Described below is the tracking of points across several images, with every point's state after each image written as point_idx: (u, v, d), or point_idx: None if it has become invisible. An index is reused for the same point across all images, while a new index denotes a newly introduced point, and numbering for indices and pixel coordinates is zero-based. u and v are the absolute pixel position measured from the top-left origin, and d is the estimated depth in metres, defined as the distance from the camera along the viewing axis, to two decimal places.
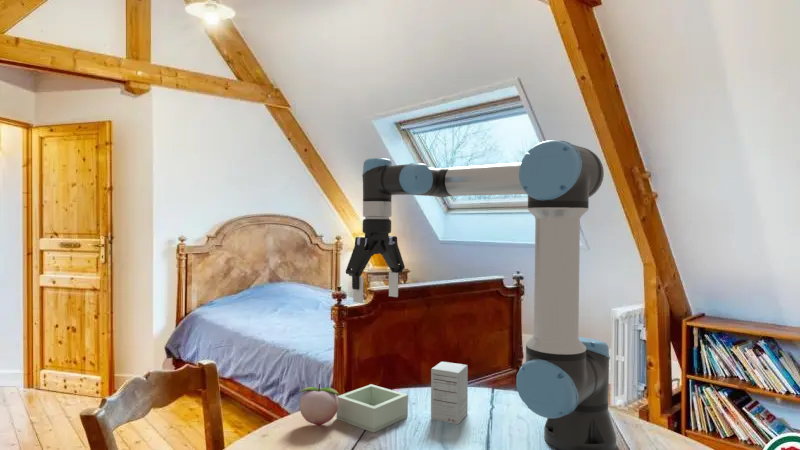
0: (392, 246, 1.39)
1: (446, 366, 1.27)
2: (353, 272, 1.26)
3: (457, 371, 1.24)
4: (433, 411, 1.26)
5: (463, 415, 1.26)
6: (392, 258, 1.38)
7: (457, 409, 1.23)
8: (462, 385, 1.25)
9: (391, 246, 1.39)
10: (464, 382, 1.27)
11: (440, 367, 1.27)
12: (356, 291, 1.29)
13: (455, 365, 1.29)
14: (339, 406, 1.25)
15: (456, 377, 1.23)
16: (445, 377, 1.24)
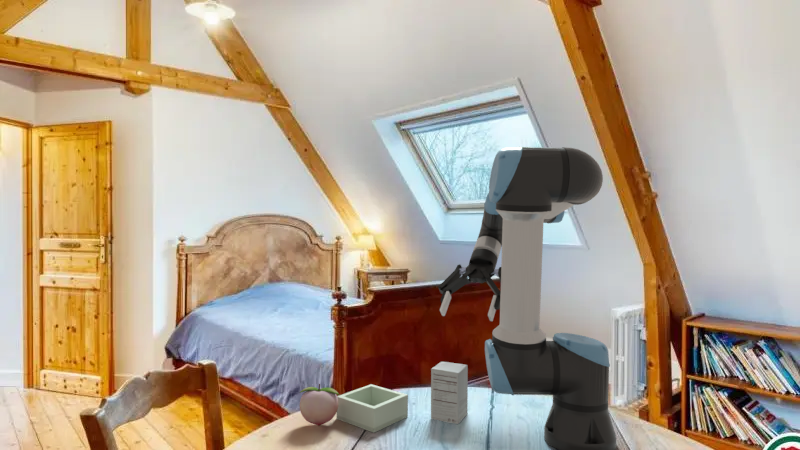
0: (499, 276, 1.42)
1: (446, 366, 1.27)
2: (439, 286, 1.45)
3: (457, 371, 1.24)
4: (433, 411, 1.26)
5: (463, 415, 1.26)
6: (491, 283, 1.40)
7: (457, 409, 1.23)
8: (462, 385, 1.25)
9: (499, 277, 1.42)
10: (464, 382, 1.27)
11: (440, 367, 1.27)
12: None
13: (455, 365, 1.29)
14: (339, 406, 1.25)
15: (456, 377, 1.23)
16: (445, 377, 1.24)
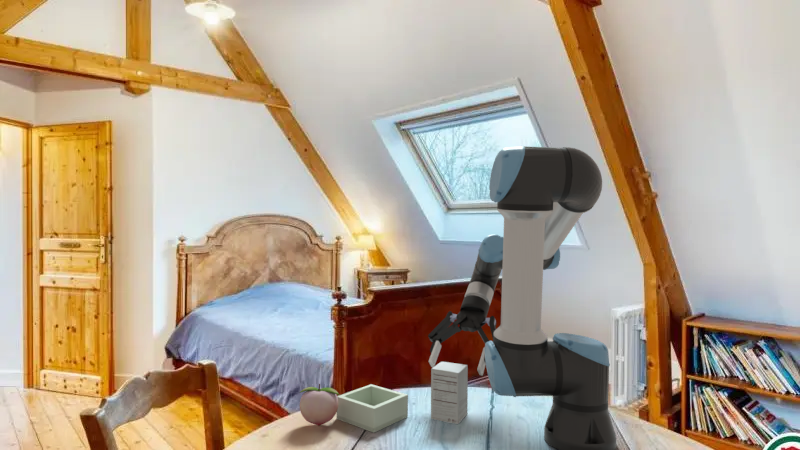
0: (490, 326, 1.38)
1: (446, 366, 1.27)
2: (429, 335, 1.41)
3: (457, 371, 1.24)
4: (433, 411, 1.26)
5: (463, 415, 1.26)
6: (482, 333, 1.36)
7: (457, 409, 1.23)
8: (462, 385, 1.25)
9: None
10: (464, 382, 1.27)
11: (440, 367, 1.27)
12: None
13: (455, 365, 1.29)
14: (339, 406, 1.25)
15: (456, 377, 1.23)
16: (445, 377, 1.24)
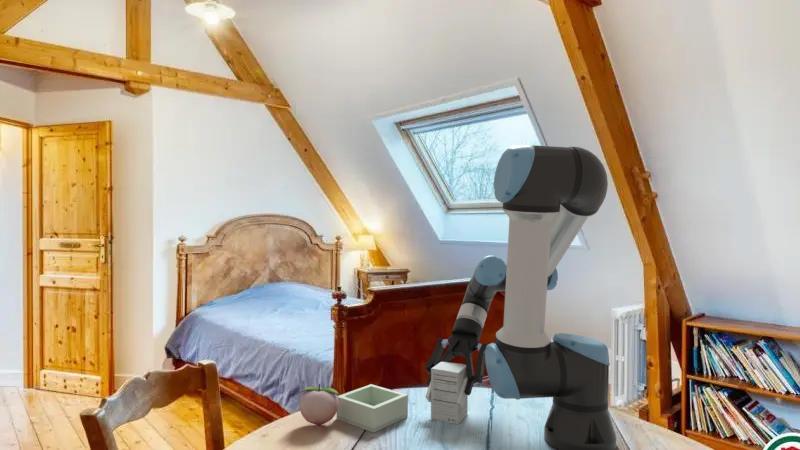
0: None
1: (446, 366, 1.27)
2: (426, 367, 1.32)
3: (457, 371, 1.24)
4: (433, 411, 1.26)
5: (463, 415, 1.26)
6: (468, 361, 1.29)
7: (457, 409, 1.23)
8: None
9: None
10: None
11: (440, 367, 1.27)
12: None
13: (455, 365, 1.29)
14: (339, 406, 1.25)
15: (456, 377, 1.23)
16: (445, 377, 1.24)
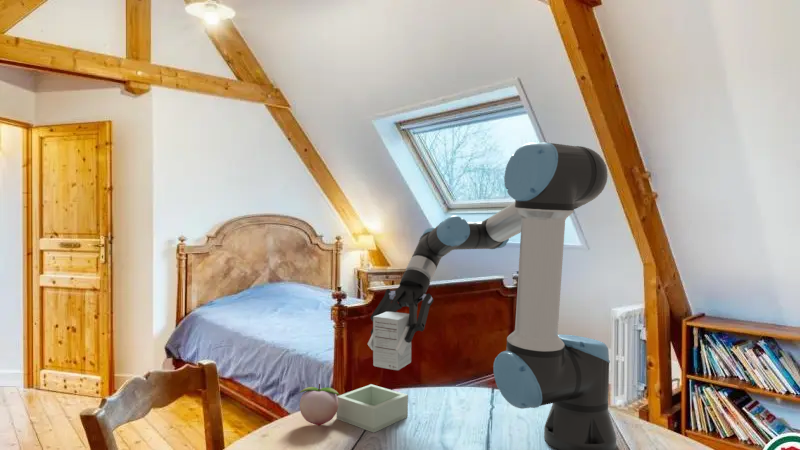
0: None
1: (389, 314, 1.29)
2: (371, 317, 1.34)
3: (397, 318, 1.25)
4: (375, 358, 1.27)
5: (405, 362, 1.28)
6: (411, 310, 1.30)
7: (397, 355, 1.25)
8: None
9: None
10: None
11: (382, 315, 1.28)
12: None
13: (399, 314, 1.30)
14: (339, 406, 1.25)
15: (396, 324, 1.24)
16: (386, 324, 1.26)
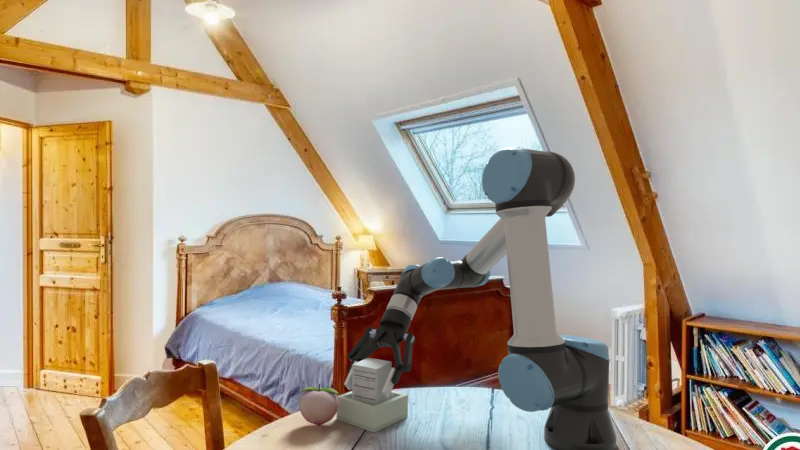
0: None
1: (368, 362, 1.27)
2: (348, 355, 1.32)
3: (376, 367, 1.23)
4: None
5: None
6: (395, 351, 1.28)
7: None
8: (382, 381, 1.24)
9: None
10: (386, 379, 1.26)
11: (361, 363, 1.26)
12: None
13: (379, 361, 1.28)
14: (339, 406, 1.25)
15: (375, 373, 1.22)
16: (364, 373, 1.23)
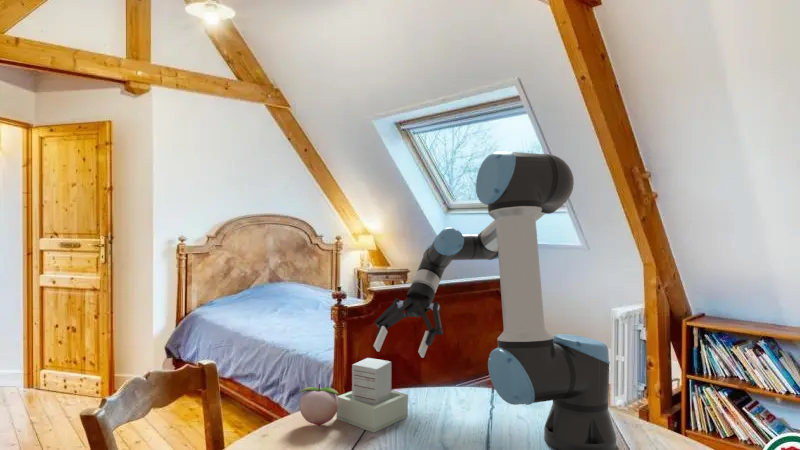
0: None
1: (368, 362, 1.27)
2: (375, 321, 1.46)
3: (376, 367, 1.23)
4: None
5: None
6: (425, 318, 1.40)
7: None
8: (382, 381, 1.24)
9: None
10: (386, 379, 1.26)
11: (361, 363, 1.26)
12: None
13: (379, 361, 1.28)
14: (339, 406, 1.25)
15: (375, 373, 1.22)
16: (364, 373, 1.23)
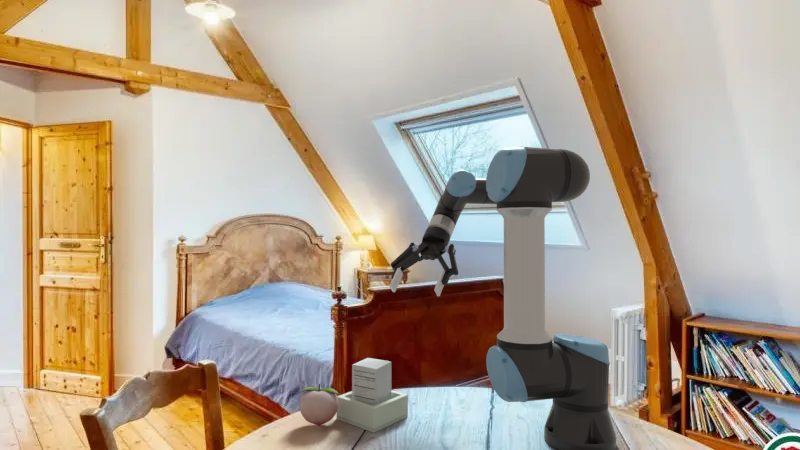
0: (449, 253, 1.43)
1: (368, 362, 1.27)
2: (391, 264, 1.47)
3: (376, 367, 1.23)
4: None
5: None
6: (441, 259, 1.41)
7: None
8: (382, 381, 1.24)
9: None
10: (386, 379, 1.26)
11: (361, 363, 1.26)
12: None
13: (379, 361, 1.28)
14: (339, 406, 1.25)
15: (375, 373, 1.22)
16: (364, 373, 1.23)
